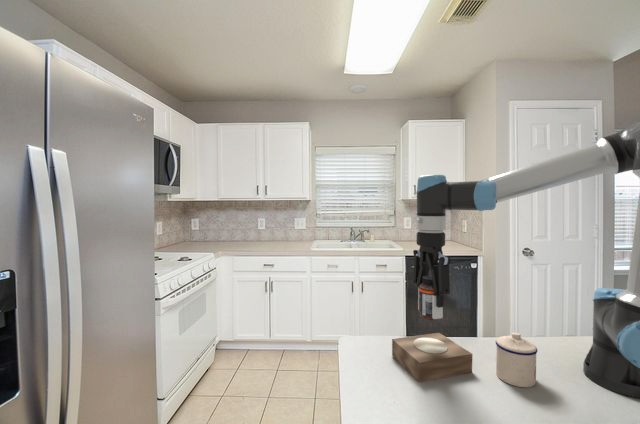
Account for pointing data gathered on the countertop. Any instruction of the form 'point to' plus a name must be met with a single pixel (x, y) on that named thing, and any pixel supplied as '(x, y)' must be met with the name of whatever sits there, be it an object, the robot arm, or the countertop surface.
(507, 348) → the cream ceramic oval pot
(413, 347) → the walnut stand
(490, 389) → the countertop surface
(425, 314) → the supplement bottle
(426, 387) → the countertop surface
